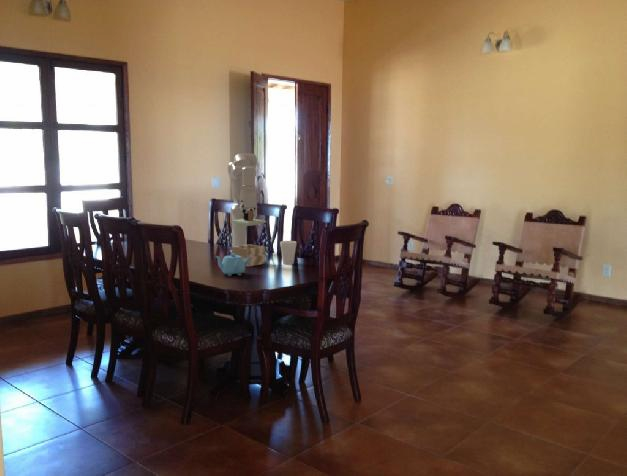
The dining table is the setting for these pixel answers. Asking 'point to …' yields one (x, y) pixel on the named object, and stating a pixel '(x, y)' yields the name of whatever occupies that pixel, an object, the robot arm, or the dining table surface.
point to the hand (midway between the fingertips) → (248, 219)
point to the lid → (249, 221)
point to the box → (251, 253)
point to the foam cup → (288, 251)
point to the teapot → (233, 264)
